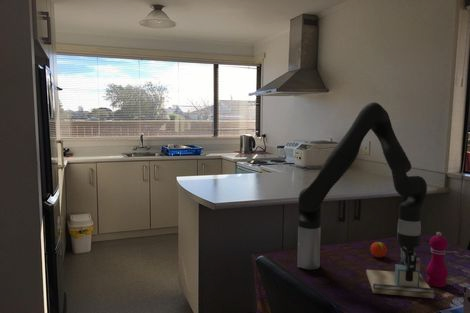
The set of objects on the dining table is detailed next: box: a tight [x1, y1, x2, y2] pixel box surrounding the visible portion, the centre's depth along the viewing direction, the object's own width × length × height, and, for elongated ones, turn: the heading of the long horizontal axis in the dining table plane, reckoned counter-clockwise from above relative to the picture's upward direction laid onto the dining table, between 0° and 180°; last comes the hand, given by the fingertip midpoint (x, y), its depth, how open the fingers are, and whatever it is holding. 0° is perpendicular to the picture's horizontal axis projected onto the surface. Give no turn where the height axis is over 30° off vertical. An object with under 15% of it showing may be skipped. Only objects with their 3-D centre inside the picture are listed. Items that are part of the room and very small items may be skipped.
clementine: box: [370, 241, 388, 258], centre depth 171 cm, size 8×7×7 cm
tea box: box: [394, 264, 421, 287], centre depth 137 cm, size 5×7×7 cm
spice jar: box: [416, 257, 421, 271], centre depth 146 cm, size 4×4×7 cm
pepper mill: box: [426, 231, 449, 288], centre depth 142 cm, size 7×7×20 cm
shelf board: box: [366, 269, 436, 299], centre depth 142 cm, size 20×18×3 cm
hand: (406, 277), depth 137 cm, fingers open, 6 cm apart
